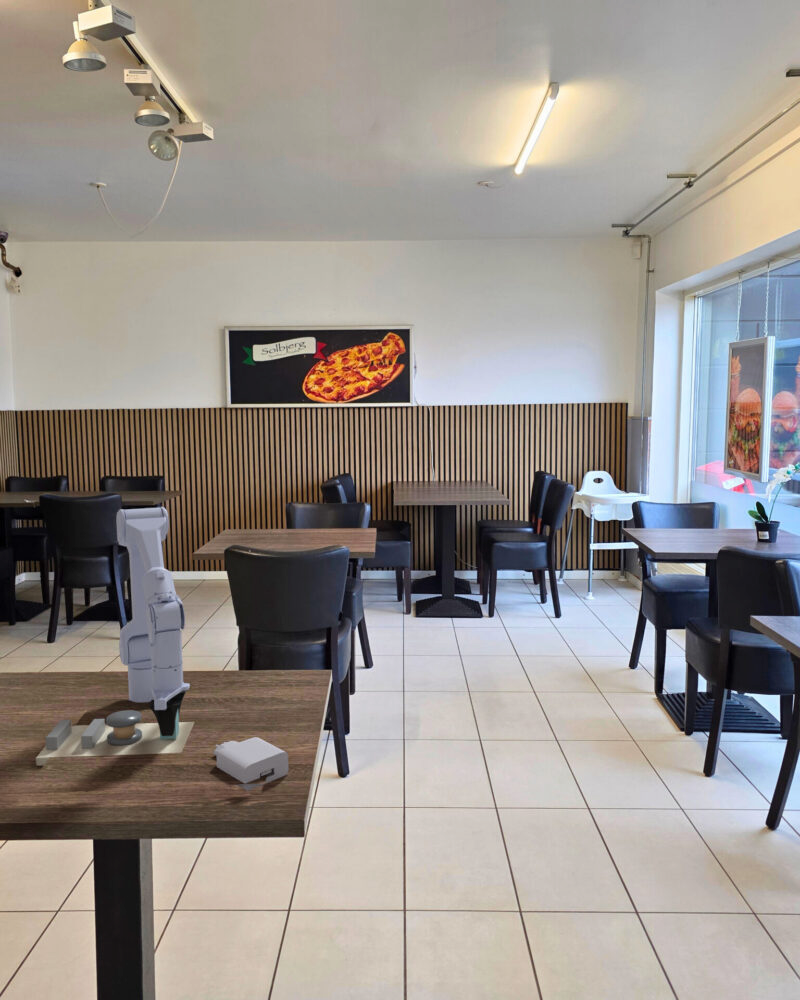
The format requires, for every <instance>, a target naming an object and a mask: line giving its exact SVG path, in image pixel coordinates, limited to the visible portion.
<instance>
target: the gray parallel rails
mask: <svg viewBox="0 0 800 1000" xmlns="http://www.w3.org/2000/svg"><path fill="white" fill-rule="evenodd" d="M105 721H106V719H105V718H94V719H93V720H92V721H91V722H90V724H89V727H88V728H87V729H86V731H85V732H84V733H83V735H82V736H81V742H82V749H93V748H94V746H95V745H96V743H97V742H98V741H99V739H100V738H101V736H102V735H103V733H104V732H105V725H106V722H105ZM71 726H72V719H61V720H59V721H58V723H56V725H55V726H54V727H53V728H52V729H51V731H50V732H49V733H48V735H47V736H46V737H45V746H46V750H58V749H59V747H60V746H61V745H62V744H63V742H64V741H65V740H66V739H67V737H68V736H69V735H70V733H71V732H72V728H71Z"/></svg>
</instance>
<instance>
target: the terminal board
mask: <svg viewBox="0 0 800 1000" xmlns="http://www.w3.org/2000/svg"><path fill="white" fill-rule="evenodd" d="M194 724H195V721H182V722H181V721H179V734H178V736H177V738H176V739H160V728H159V725H158V722H150V723H148V722H147V723H146V722H145V723H137V724H135V728H137V729H140V730H141V731H142V738H141V740H139V741H138V742H136V743H133V744H130V745H125V746H114V745H110V744H108V742H107V735H108V734H109V733H111V732H113V727H110V726H108V725H107V724H105V732H104V733H103V735H102V736H101V738H100V739H99V741H98V742H97V743H96V745H95V746H94V748H93V749H82V742H81V736H82V735H83V733H84V732H85V731H86V729H87V728H88V727H89V725H90V724H89V725H88V724H86V725H85V724H83V725H71V728H72V732H71V733H70V735H69V736H68V737H67V739H66V740H65V741H64V742H63V744H62V745H61V746H60V747H59V749H58V750H46V745H45V746H44V747H43V749H42V750H41V751H40V752H39V754H37V756H36V757H35V763H36V766H45V765H46V764H47V762H48V761H49V759H51V758H72V757H73V758H74V757H75V758H76V757H100V756H101V757H103V756H127V755H128V756H129V755H130V756H131V755H133V756H134V755H155V754H157V755H158V754H159V755H161V754H163V755H164V754H182V752H183V749H184V747H185V745H186V744H187V740H188V738H189V736H190V733H191V731H192V729H193V726H194Z"/></svg>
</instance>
